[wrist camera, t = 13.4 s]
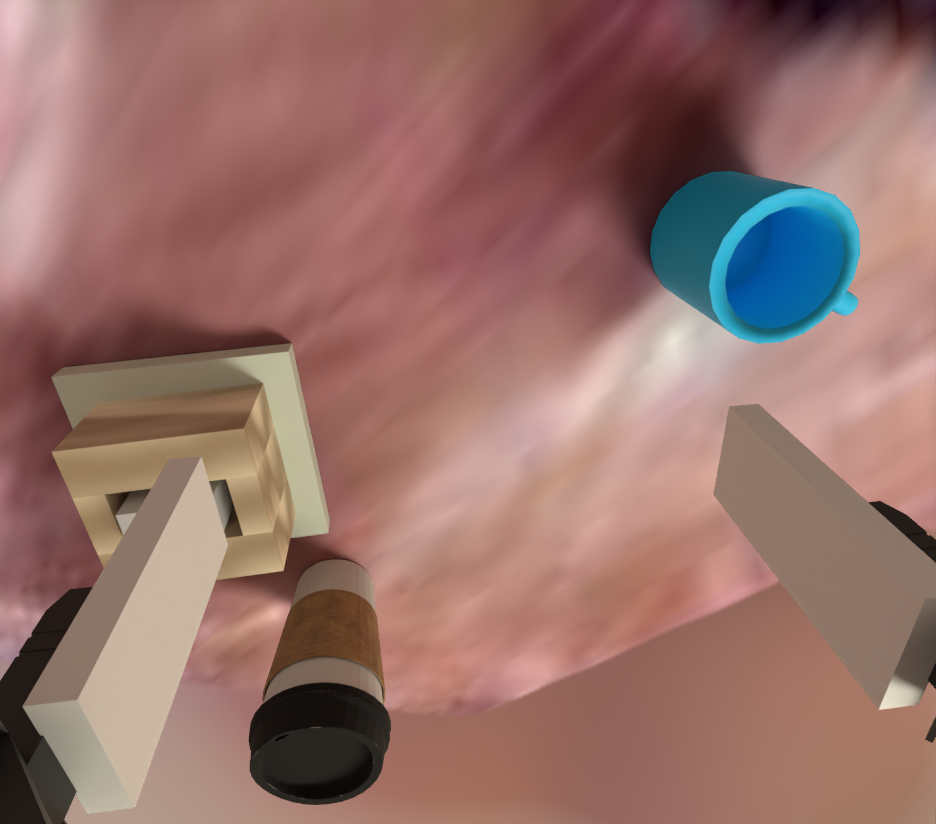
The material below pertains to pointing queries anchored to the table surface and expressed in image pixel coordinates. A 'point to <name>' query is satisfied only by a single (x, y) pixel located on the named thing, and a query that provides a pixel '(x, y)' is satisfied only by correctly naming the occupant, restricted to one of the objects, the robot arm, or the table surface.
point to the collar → (181, 436)
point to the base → (204, 373)
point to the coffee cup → (324, 693)
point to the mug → (757, 254)
